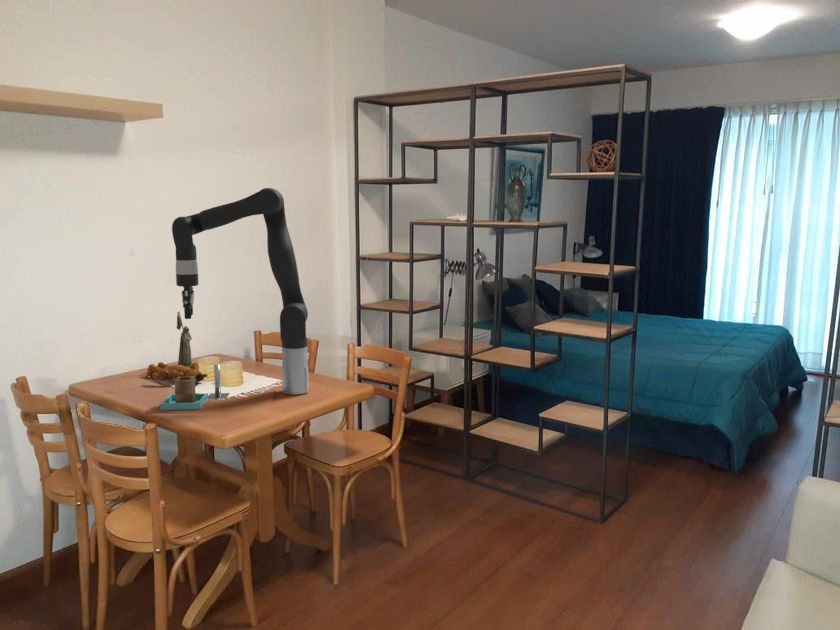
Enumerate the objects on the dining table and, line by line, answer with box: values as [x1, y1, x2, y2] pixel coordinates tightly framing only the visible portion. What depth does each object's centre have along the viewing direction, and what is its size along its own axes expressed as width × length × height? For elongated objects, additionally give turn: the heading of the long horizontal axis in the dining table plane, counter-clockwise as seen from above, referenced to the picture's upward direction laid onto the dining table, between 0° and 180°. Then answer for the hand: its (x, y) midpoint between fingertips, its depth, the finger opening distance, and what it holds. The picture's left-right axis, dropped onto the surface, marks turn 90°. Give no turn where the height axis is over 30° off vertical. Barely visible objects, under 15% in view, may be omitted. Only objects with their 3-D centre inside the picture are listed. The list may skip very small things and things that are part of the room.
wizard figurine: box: [176, 311, 193, 369], centre depth 273 cm, size 10×8×25 cm
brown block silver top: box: [208, 363, 230, 400], centre depth 234 cm, size 7×7×12 cm
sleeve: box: [174, 376, 196, 403], centre depth 224 cm, size 6×6×9 cm
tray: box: [159, 392, 209, 411], centre depth 224 cm, size 13×12×3 cm
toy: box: [146, 361, 209, 384], centre depth 257 cm, size 20×7×30 cm
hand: (189, 316), depth 238 cm, fingers open, 8 cm apart
